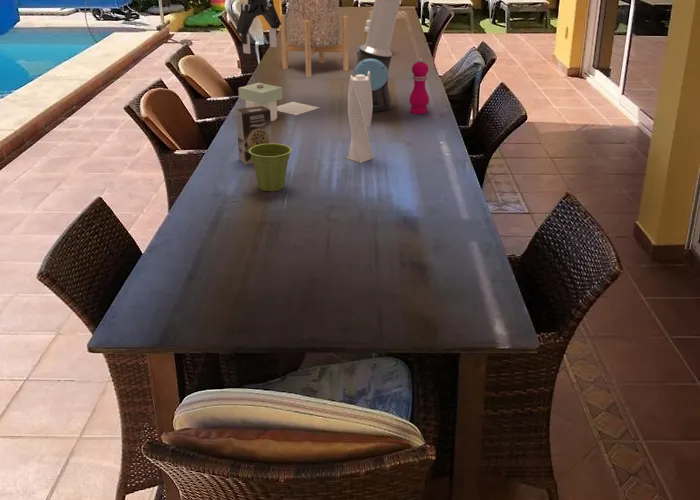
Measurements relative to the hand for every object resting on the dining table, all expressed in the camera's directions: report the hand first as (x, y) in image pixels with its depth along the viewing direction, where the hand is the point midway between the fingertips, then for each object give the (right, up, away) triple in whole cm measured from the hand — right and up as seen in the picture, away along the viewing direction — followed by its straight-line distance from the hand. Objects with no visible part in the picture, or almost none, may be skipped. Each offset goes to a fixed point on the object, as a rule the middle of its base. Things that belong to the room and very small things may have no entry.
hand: (260, 50), depth 280 cm
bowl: (0, -24, +6) cm, 24 cm away
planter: (+16, +11, +78) cm, 81 cm away
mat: (+11, -18, +18) cm, 27 cm away
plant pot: (+10, -54, -57) cm, 78 cm away
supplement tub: (+45, +23, +104) cm, 115 cm away
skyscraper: (+35, -43, -35) cm, 66 cm away
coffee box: (+3, -43, -35) cm, 55 cm away
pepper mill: (+57, -20, +13) cm, 62 cm away
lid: (0, -17, +3) cm, 17 cm away
